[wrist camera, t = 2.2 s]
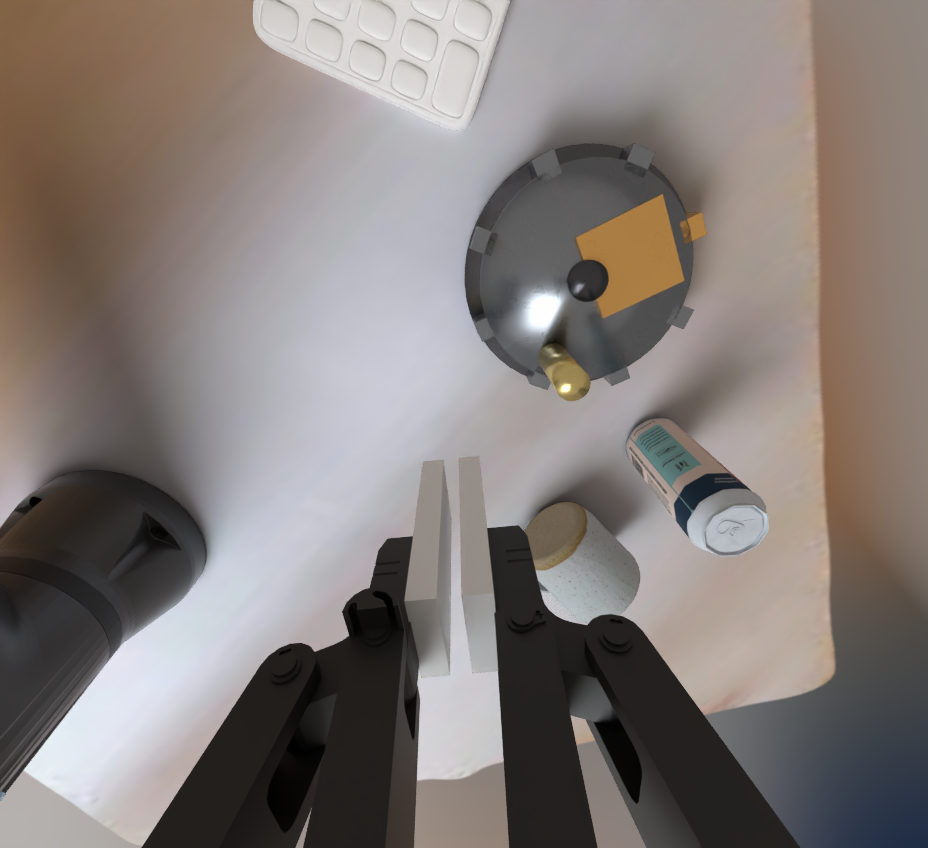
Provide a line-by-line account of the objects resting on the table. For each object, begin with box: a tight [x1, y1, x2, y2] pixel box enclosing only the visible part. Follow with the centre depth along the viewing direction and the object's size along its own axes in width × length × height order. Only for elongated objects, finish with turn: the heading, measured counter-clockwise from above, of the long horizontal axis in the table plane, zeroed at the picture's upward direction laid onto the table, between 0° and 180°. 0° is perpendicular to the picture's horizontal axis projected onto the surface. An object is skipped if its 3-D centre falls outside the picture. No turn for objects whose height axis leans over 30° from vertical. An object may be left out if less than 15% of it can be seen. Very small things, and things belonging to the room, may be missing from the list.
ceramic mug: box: [525, 502, 640, 624], centre depth 37 cm, size 11×8×8 cm
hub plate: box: [465, 144, 685, 381], centre depth 30 cm, size 16×16×1 cm
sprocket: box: [469, 143, 707, 401], centre depth 26 cm, size 16×16×8 cm
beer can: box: [626, 418, 769, 556], centre depth 31 cm, size 5×5×12 cm
